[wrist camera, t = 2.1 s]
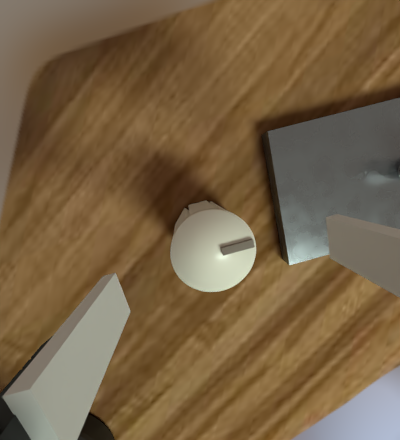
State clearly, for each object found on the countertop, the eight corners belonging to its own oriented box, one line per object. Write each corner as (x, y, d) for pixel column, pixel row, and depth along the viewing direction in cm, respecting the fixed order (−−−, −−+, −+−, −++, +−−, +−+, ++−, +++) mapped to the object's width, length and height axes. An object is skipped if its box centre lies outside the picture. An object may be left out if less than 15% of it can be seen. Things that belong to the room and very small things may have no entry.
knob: (183, 263, 22) (183, 303, 15) (167, 208, 21) (158, 224, 14) (238, 248, 22) (264, 281, 15) (226, 193, 21) (248, 200, 14)
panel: (282, 259, 23) (313, 284, 18) (261, 134, 20) (290, 118, 15) (457, 211, 24) (539, 220, 18) (463, 83, 21) (562, 49, 15)
